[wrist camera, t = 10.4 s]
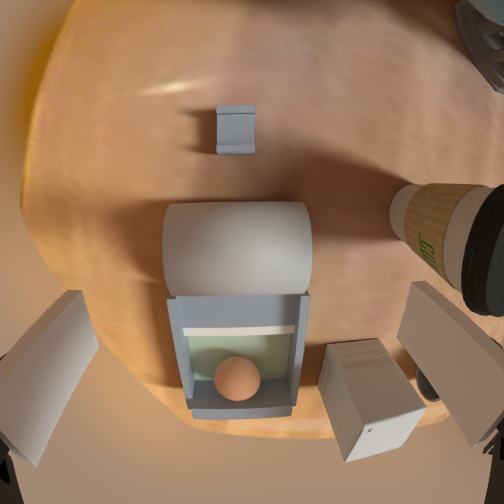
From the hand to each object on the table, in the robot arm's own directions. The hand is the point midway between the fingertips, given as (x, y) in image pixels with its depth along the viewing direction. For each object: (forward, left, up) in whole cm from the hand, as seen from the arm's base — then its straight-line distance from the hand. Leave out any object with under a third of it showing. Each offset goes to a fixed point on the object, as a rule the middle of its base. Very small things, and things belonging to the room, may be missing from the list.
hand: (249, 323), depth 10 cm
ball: (+16, -1, -13) cm, 21 cm away
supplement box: (+18, +13, -17) cm, 28 cm away
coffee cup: (-1, +18, -17) cm, 24 cm away
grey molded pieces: (+5, 0, -18) cm, 19 cm away
